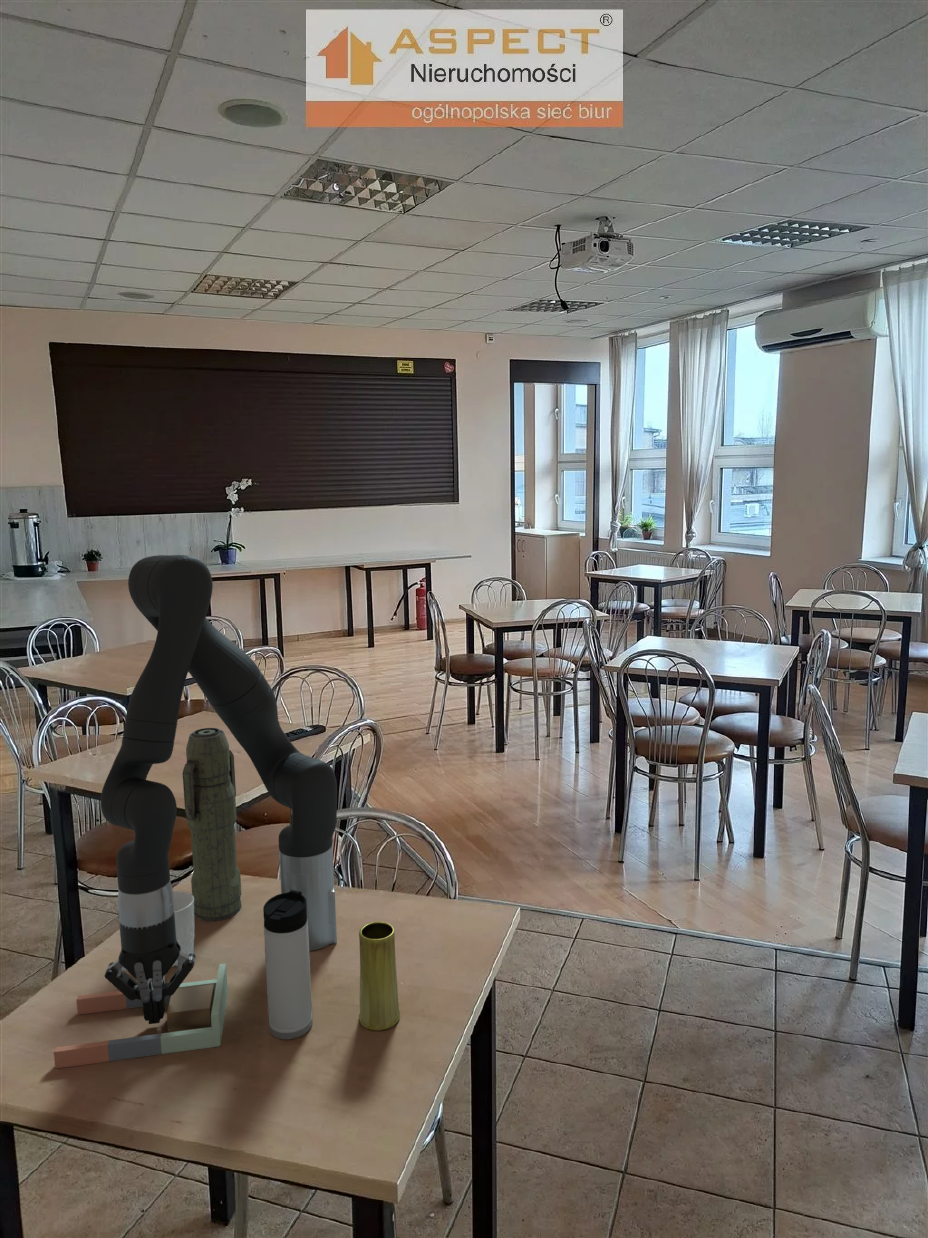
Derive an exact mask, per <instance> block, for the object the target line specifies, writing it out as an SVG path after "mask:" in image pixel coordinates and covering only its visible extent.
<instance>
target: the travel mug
mask: <svg viewBox="0 0 928 1238" xmlns="http://www.w3.org/2000/svg"><path fill="white" fill-rule="evenodd" d="M262 912H263V913H262V914H263V919H264V920H263V936H264V937H263V938H264V953H265V954H264V956H265V958H264V959H265V971H266V973H265V975H266V976H265V977H266V991H267V995H266V996H267V1008H268V1009H267V1010H268V1028H269V1032H270V1033H271V1035H272V1036H273V1037H276V1038H277V1039H281V1040H293V1039H297V1038H299V1037H301V1036H304V1035H305V1034H306V1033H308V1031H310V1030H311V1028H312V1026H313V1013H312V1012H313V1007H312V1005H313V1004H312V986H311V983H312V982H311V963H310V960H311V959H310V951H309V937H308V919H307V901H306V898H305V897H304V896H303V895H302V892H301V891H295V890H291V891H289V892H287V893H282V894H281V893H279V894H276V895H274V896H271V898H269V899H268V900H267V901H266V902H265V903H264V904H263V911H262Z"/></svg>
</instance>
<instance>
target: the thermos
mask: <svg viewBox="0 0 928 1238" xmlns="http://www.w3.org/2000/svg"><path fill="white" fill-rule="evenodd" d="M187 740H188V741H187V743H186V746H185V747H186V749H185V754H186V763H185V764H184V767H183V769H182V784H183V798H184V799H183V800H184V801H183V802H184V811H185V817H186V820H187V826H188V828H189V830H190V836H191V837H190V838H191V839H190V841H191V855H192V866H193V867H192V868H193V869H192V870H193V872H192V876H191V880H190V883H191V894H192V895H193V896H194V917H195V918H196V919H199V920H201V921H206V922H216V921H222V920H226V919H228V918H231V917H233V916H235V915H236V914H238V913H239V912H240V911H241V909H242V901H241V897H242V882H241V881H242V880H241V871H240V869H239V867H238V864H237V846H236V830H235V829H236V828H235V824H236V821H237V820H238V819H237V818H238V817H237V803H236V799H237V798H236V797H237V790H236V789H237V787H236V774H235V773H236V771H235V770H236V769H235V755H234V754H233V751H232V750H230V744H229V742H228V739H227V736H226V734H225V732H224V731H223V730H222V729H219V728H218V727H217V728H216V727H205V728H199V729H196V730H194V731H193V732H191V733H190V734H189V737H188V739H187Z"/></svg>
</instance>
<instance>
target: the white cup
mask: <svg viewBox="0 0 928 1238" xmlns="http://www.w3.org/2000/svg"><path fill="white" fill-rule="evenodd" d="M173 900H174V914H175V928H176V940H177V942H178V944H179V945H180V947H181V951H182V952H183V953H185V954H187V955H189V954H191V953H192V954H195V929H196V928H195V915H194V896H193V895H192V893H190V892H188V891H183V890H174V891H173ZM177 964H178V960H176V961H175V963H174V964H173V966H172V967H177ZM172 967H171V968H172Z"/></svg>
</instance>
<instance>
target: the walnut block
mask: <svg viewBox="0 0 928 1238" xmlns="http://www.w3.org/2000/svg"><path fill="white" fill-rule="evenodd" d="M213 1000H214V984H210V985H202V986H193V987H185V988H178V989H177V990H176V991H175V993H174V994H173V995H171V998H170V1002H169V1003H168V1006H167V1011H166V1020H167V1021H166V1022H167V1023H166V1025H167V1033H169V1032H177V1031H185V1030H192V1029H200V1028H208V1027H212V1024H211V1012H212V1006H213Z"/></svg>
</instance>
